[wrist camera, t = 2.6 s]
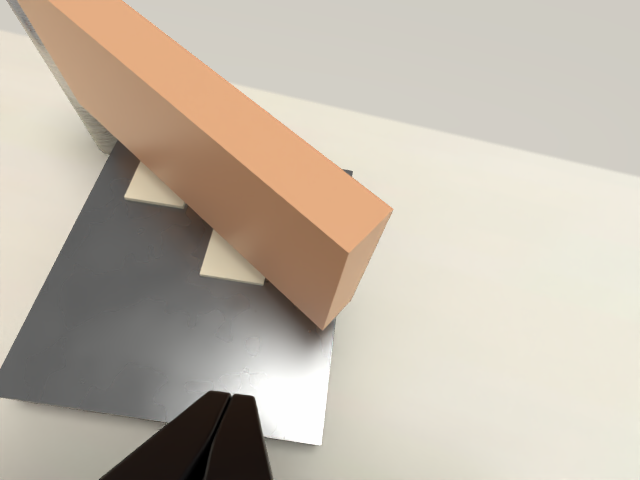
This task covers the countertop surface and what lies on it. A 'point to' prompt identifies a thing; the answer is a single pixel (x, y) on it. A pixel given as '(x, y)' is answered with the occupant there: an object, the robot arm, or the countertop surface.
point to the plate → (161, 311)
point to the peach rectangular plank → (218, 151)
